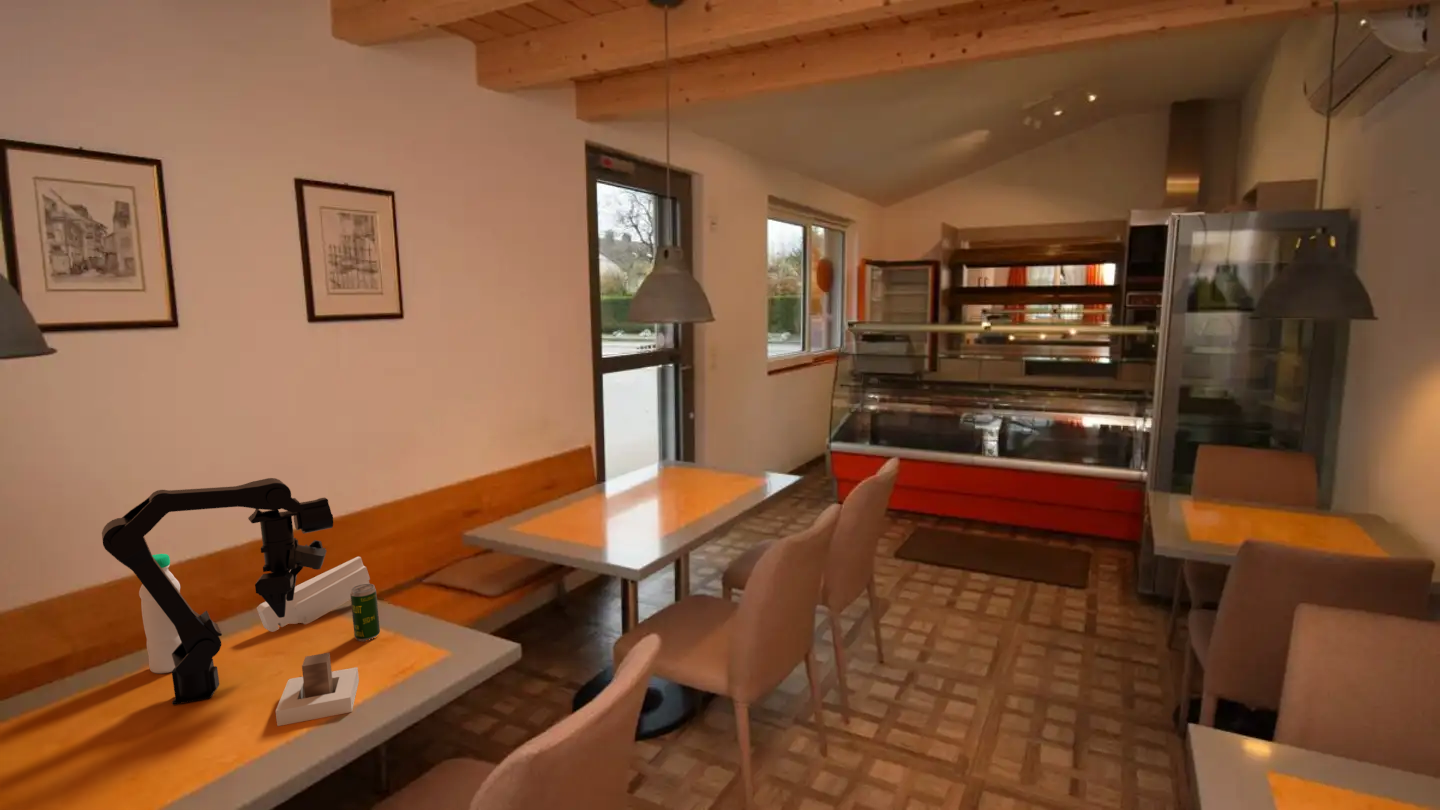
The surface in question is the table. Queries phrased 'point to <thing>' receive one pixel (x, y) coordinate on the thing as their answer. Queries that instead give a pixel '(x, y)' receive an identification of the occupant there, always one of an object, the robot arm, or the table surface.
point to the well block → (317, 699)
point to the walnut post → (317, 675)
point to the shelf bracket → (317, 595)
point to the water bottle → (159, 625)
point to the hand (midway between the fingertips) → (286, 608)
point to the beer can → (365, 612)
